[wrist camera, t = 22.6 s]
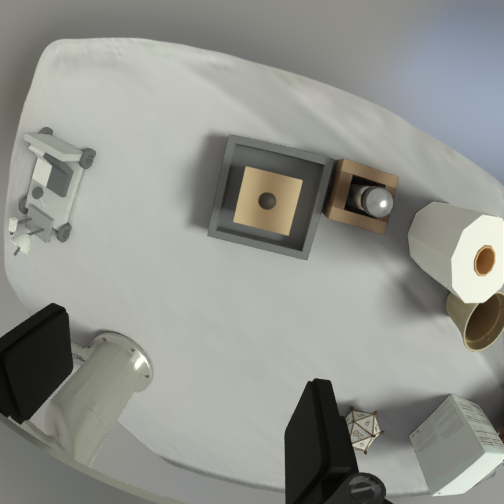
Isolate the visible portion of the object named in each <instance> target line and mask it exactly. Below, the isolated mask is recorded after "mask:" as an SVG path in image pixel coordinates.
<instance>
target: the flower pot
mask: <svg viewBox="0 0 504 504" xmlns="http://www.w3.org/2000/svg"><path fill="white" fill-rule="evenodd" d="M446 311H447V313H448V315H449V316H450V317H451V319H452V320H453V322H454V323H455V325H456V326H457V327H458V329H459V330H460V332H461V335H462V338H463V342H464V345H465V346H466V348H467V349H468V350H470V351H473V352H478V351H482V350H484V349H486V348H487V347H489V346H490V345H492V344H493V343H494V342H495V341H496V340H497V339H498V337H499V336H500V335H501V333H502V332H503V330H504V293H503V292H502V291H497V292H496V293H494V294H493V295H492V296H491V297H490V298H489V299H488V300H486V301H485V302H484V303H464V302H463V301H462V300H460V299H459V298H458V297H457V296H456V295H454V294H453V293H452V292H451V293H450V294H449V295H448V297H447V300H446Z"/></svg>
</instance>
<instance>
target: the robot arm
mask: <svg viewBox="0 0 504 504" xmlns="http://www.w3.org/2000/svg"><path fill="white" fill-rule="evenodd" d="M72 353H74V354H76V355H79V356H81V357H82V358H81V357H79V356H78V357H77V359H76V363H78V364H80V365H82V366H81V367H80V368H79V369H78V370H77V371H76V372H75V373H74V374H73V375H72V377H71V378H70V379H69V380H68V381H67V382H66V383H65V384H64V386H63V387H62V388H61V389H60V390H59V391H58V392H57V394H56V395H55V396H54V397H53V398H52V399H51V400H50V401H49V403H48V405H47V407H46V411H45V430H46V434H45V433H44V432H42V431H41V430H40V429H38V428H37V427H36V426H35V425H34V424H33V423H32V422H31V421H30V420H29V419H30V418H31V417H32V416H33V414H34V413H35V412H36V411H37V410H38V409H39V408H40V407H41V405H42V404H43V403H44V402H45V401H46V400H47V399H48V397H50V395H51V394H52V393H53V392H54V391H55V390H56V389H57V388H58V387H59V385H60V384H61V383H62V382H63V381H64V380H65V379H66V378H67V377H68V375H70V374H71V372H72V370H73V359H72ZM152 377H153V370H152V366H151V363H150V361H149V359H148V357H147V356H146V354H145V353H144V351H143V350H142V349H141V348H140V347H139V346H138V345H137V344H135V343H134V342H133V341H131V340H130V339H128V338H127V337H125V336H122V335H120V334H117V333H111V332H107V333H102V334H99V335H98V336H97V337H96V338H95V339H94V340H93V341H92V343H91V345H90V348H88V347H85V348H83V347H81V346H80V345H78V344H76V343H74V342H71V341H70V329H69V316H68V313H67V312H66V309H65V308H64V307H62V306H60V305H57V304H55V303H51V304H49V305H48V306H46V307H45V308H43V309H42V310H40V311H39V312H37V313H36V314H34V315H33V316H31V317H30V318H28V319H27V320H25V321H24V322H22V323H21V324H19V325H18V326H16V327H15V328H14V329H12V330H11V331H9V332H8V333H6V334H5V335H4V336H2V337H1V338H0V504H189V503H186V502H182V501H178V500H174V499H171V498H168V497H164V496H161V495H158V494H155V493H152V492H149V491H146V490H143V489H140V488H137V487H134V486H132V485H129V484H126V483H124V482H121V481H119V480H117V479H114V478H112V477H110V476H107V475H105V474H102V473H100V472H98V471H96V470H94V469H92V468H91V466H92V463H93V461H94V459H95V457H96V455H97V453H98V451H99V450H100V447H101V446H102V444H103V443H104V441H105V439H106V438H107V436H108V434H109V433H110V431H111V429H112V427H113V426H114V424H115V422H116V421H117V419H118V418H119V416H120V414H121V413H122V411H123V409H124V408H125V406H126V405H127V403H128V401H129V400H130V398H131V396H132V395H133V393H134V392H140V391H143V390H145V389H146V388H147V387H148V386H149V384H150V383H151V380H152ZM284 440H285V496H286V504H393V503H391V502H390V501H388V500H386V499H385V496H386V488H385V485H384V483H383V482H382V481H381V480H380V479H379V478H378V477H376V476H375V475H372V474H370V473H364V472H360V473H359V470H358V465H357V461H356V457H355V453H354V449H353V445H352V441H351V437H350V433H349V429H348V425H347V422H346V419H345V417H344V416H340V415H339V411H338V407H337V403H336V399H335V396H334V392H333V388H332V384H331V381H330V380H324V379H318V378H315V379H314V380H313V381H312V382H311V381H308V382H307V384H306V387H305V389H304V391H303V393H302V396H301V398H300V400H299V402H298V405H297V407H296V409H295V411H294V413H293V415H292V417H291V419H290V422H289V424H288V426H287V428H286V431H285V436H284Z"/></svg>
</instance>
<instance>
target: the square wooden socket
mask: <svg viewBox="0 0 504 504" xmlns="http://www.w3.org/2000/svg"><path fill="white" fill-rule="evenodd" d="M352 176H353V177H356V178H359V179H362V180H365V181H368V182H371V183H374V185H373V186H377V187H383V188H385V189H387V190H388V191H389V192H390V193H391V194H392V197H393V200H394V196H395V192H396V188H397V184H398V180H399V177H397V176H394V175H392V174H389V173H386V172H383V171H380V170H377V169H375V168H372V167H369V166H366V165H363V164H359V163H356V162H353V161H350V160H347V159H340V160H336V164H335V168H334V172H333V176H332V180H331V184H330V188H329V192H328V196H327V199H326V203H325V207H324V211H323V214H324V215H325V216H326V217H328V218H329V219H332V220H336V221H339V222H343V223H346V224H350V225H353V226H357V227H360V228H364V229H367V230H371V231H374V232H377V233H381V234H384V232H385V228H386V225H387V221H388V218H389V215H387V216H386V217H383V218H376V217H373V216H371V215H369V214H367V213H366V214H363V213H360V212H357V211H353V210H350V209H346V208H344V207H345V203H346V199H347V195H348V191H349V188H350V184H351V180H352Z"/></svg>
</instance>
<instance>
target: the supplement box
mask: <svg viewBox="0 0 504 504" xmlns="http://www.w3.org/2000/svg"><path fill="white" fill-rule="evenodd" d="M409 438H410V440H411V443H412V445H413V448H414V450H415V453H416V456H417V458H418V461H419V463H420V466H421V469H422V472H423V474H424V477H425V480H426V483H427V486H428V489H429V492H430V495H431V496H443V495H454V494H463V493H465V492H466V491H467V490H469V489H470V488H471V487H472V486H474V485H475V484H476V483H477V482H479V481H480V480H481V479H482V478H483V477H485V476H486V475H487V474H488V473H489V472H490V471H492V470H493V469H494V468H495V467H496V466H497V465H498V464H500V463H501V462H502V461H503V460H504V444H503V443H502V441H501V439H500V438H499V436H498V434H497V433H496V431H495V429H494V428H493V426H492V425H491V423H490V421H489V420H488V418H487V417H486V415H485V414H484V412H483V411H482V409H481V408H480V406H479V405H478V404H476V403H474V402H471V401H469V400H466V399H463V398H461V397H458V396H456V395H453V394H450V395H449V396H448V397H447V398H446V399H445V401H444V402H443V403H442V404H441V405H440V406H439V407H438V408H437V409H436V410H435V411H434V412H433V413H432V414H431V415H430V416H429V417H428V418H427V419H426V420H425V421H424V422H423V423H422V424H421V425H420V426H419V427H418V428H417V429H416V430H415V431H414V432H413V433H411V434H410V435H409Z"/></svg>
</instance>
